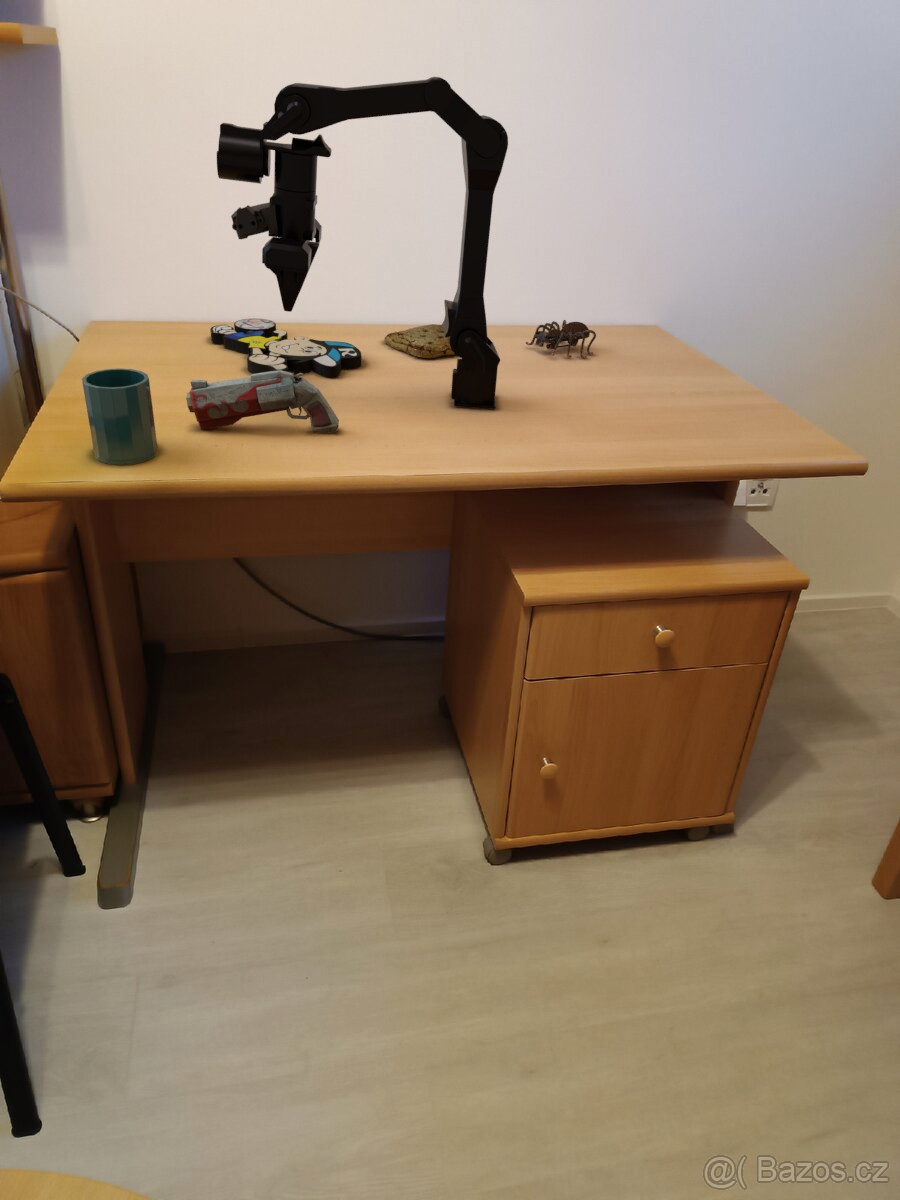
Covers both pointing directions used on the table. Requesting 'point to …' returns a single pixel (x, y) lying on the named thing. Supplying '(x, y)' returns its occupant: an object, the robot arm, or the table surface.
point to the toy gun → (259, 400)
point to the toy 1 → (285, 349)
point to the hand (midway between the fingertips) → (291, 301)
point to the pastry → (421, 341)
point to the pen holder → (120, 416)
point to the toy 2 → (563, 336)
